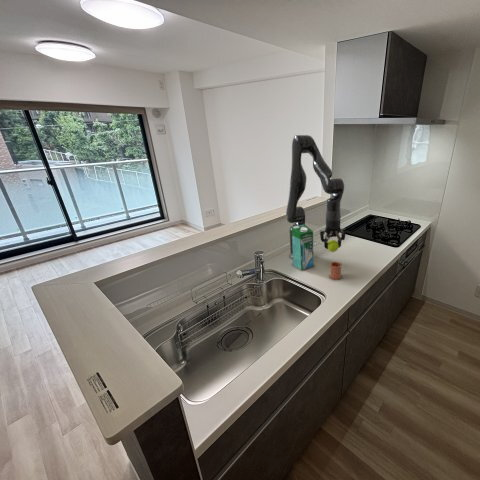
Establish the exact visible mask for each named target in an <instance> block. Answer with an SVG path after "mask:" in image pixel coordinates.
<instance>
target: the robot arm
mask: <svg viewBox="0 0 480 480" xmlns="http://www.w3.org/2000/svg"><path fill="white" fill-rule="evenodd" d="M303 154H308V155H310V157H311V159H312V168H313V171H314V173H315V174H316V175H317V177H318V179H319V181H320V184H321V187H322V189H323V191H324V193H326V194H328V195H331V196H330V197H328V198H327V199H326V205H325V207H326V209H325V210H326V211H325V229H323V230H322V229H319V237H320V241H321V242H322V243H323V247H324V248H325V250H328V242H329V241H330V240H331V238H333V237H334V238H337V243H338V245H339V247H338V249H340V248H341V247H342V241H345V239H346V233H347V229H346V228H345V227H342V228H341V217H342V216H341V202H342V198H343V194H344V191H345V182H344V181H343V179H342V178H340V177H339V178H338V177H337V178H332V177H333V170H332V169H331V168H330V166H329V165H328V164H327V162H326V161H325V160H324V158H323V156H322V154H321V152H320V150H319V147H318V145H317V144H316V141H315V139H314V138H313V137H312V136H311V135H309V134H297V135H295V136H294V137H293V138H292V141H291V168H290V179H289V191H288V201H287V206H286V210H285V218H286V221H287V222H288V223H289V224H292V225H290V227H289V230H288V231H289V251H290V254H289V256H290V258H291V259H293V250H292V227H294V226H298V225H302V224H305V225H306V211H305V208H303V206H299V205H298V204H299V203H298V202H299V201H300V198H301V197H303V194H304V192H305V191H306V186H307V174H306V171H305V169H304V167H303V165H302V155H303ZM325 233H326V234H325ZM340 233H341V235H340ZM324 235H325V236H324Z"/></svg>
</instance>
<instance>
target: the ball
mask: <svg viewBox="0 0 480 480" xmlns="http://www.w3.org/2000/svg"><path fill="white" fill-rule="evenodd" d="M338 247H339V245H338V240H335V239H329V240H328V249H327V250H328V251H329V252H331V253H335V252H337V251H338V250H339V248H338Z"/></svg>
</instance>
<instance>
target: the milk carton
mask: <svg viewBox="0 0 480 480" xmlns="http://www.w3.org/2000/svg"><path fill="white" fill-rule="evenodd" d="M292 250H293V258H292V265H293V267H296V268H297V269H298V270H300V271H303V270H306V269H309V268H311V267H314V231H313V230H312V229H311V227H308V226H307V225H306V223H305V224H302V225H298V226H294V227H292Z"/></svg>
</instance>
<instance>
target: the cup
mask: <svg viewBox="0 0 480 480" xmlns="http://www.w3.org/2000/svg"><path fill="white" fill-rule="evenodd" d="M329 271H330V272H329V277H330V279H332V280H340V279H341V277H342V263H341V262H338V261H333V262H331V263H330V270H329Z"/></svg>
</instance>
